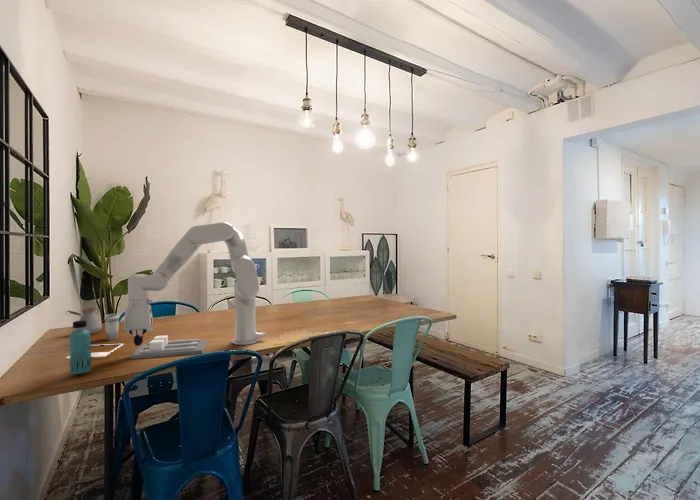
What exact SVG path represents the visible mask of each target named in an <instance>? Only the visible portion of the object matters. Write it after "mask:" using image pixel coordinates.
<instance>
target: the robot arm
mask: <svg viewBox="0 0 700 500" xmlns="http://www.w3.org/2000/svg"><path fill="white" fill-rule="evenodd" d="M220 242H224V243H225V244H226V247H227V250H228V255H229V259H230V266H231V270H232V272H233V273H234V274H235V279H236V281H235V283H234V287H233V288H234V289H233V293H234V308H235V309H234V328H235V329H234V330H235V331H234V338H232V340H231V343H232V344H234V345H237V346H238V345H239V346H245V345H253V344H255V343H257V342H259V341H260V340H259V338H265V337H266V333H265V332H257V330H256V297H257V296H258V294H259V292H260V285H259V280H258V278H259V277H258V273H257V268H256V265H255V263H254V261H253V259H251V258H250V257H249V253H248V248H247V243H246V240H245V238H244V236H243V234H242V233H241V232H240V231H239V230H238V229H237V228H236V227H234V226H233V225H232V224H231V223H230V222H227V221H220V222H215V223H208V224H201V225H200V224H199V225H194V226H191V227H190V228H189V229H188V230H187V231H186V232H185V234H184V235H183V236H182V237H181V238H180V240H179V241H177V243H176V244H175V245H174V247H173V248H172V249H171V250H170V251H169V253H168V255H167V256H166V258H165V259H164V260H163V261H162V262H161V264H159V266H158V267H157V268H156V269H155V271H154V272H153V273H152V274H146V273H145V274H144V273H134V274H130V275H129V276H128V277H127V305H126V307H125V312H124V318H123V319H124V320H123V328H124V329H123V332H124V333H127V334H130V335H131V336H132V337H133V344H134V347H137V346H138V347H140V346H141V345H142V344H144V343H143V341H144V335H145V333H147V332H151V331H153V323H154V322H153V312H152V311H153V310H152V306H151V304H150V303H153V300H152V299H150V298H149V291H152V292H160V291H163V290H165V289H166V288H167V287H168V285H169V284H168V283H169V282H170V281H171V279H172V278H173V277H174V276H175V274H176V273H177V272H178V271H179V270H180V269H182V267H184V266H185V265H186V264H187V263H188V262H189V261H190V260H191V258H192V257H193V256H194V255H195V253H196V252H197V251H198V250H199V248H201V246H202V245H207V244H214V243H220ZM138 330H139V333H138Z"/></svg>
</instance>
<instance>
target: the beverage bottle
mask: <svg viewBox="0 0 700 500" xmlns="http://www.w3.org/2000/svg"><path fill="white" fill-rule="evenodd" d="M86 326H87V323H86V321H85V320H82V321H80V320H76V321H73V322H72V328H73V331H71V332H70V333H69V334H68V335H69V336H68V337H69V356H70V359H69V371H70V374H71V375H72V374H73V375H76V374H84V373H87V372H89V371H91V369H92V358H91V353H92V352H91V351H92V346H91V345H92V340H91V334H90V331H89V330H87V329H78V330H76V328H82V327H86ZM74 329H75V330H74Z"/></svg>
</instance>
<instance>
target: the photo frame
mask: <svg viewBox="0 0 700 500" xmlns="http://www.w3.org/2000/svg"><path fill="white" fill-rule="evenodd" d="M100 345H101V344H91V347H100ZM102 345H104V346H116V347H115V348H113V349H112V350H109V351H102V352H99V351H97V352H91V357H94V358H105V357H107V356H109V355H110V354H112V353H113V352H114V350H115V351H116V350H117V348H118V349H119V348H121V347H122V346H124V343H110V344H107V343H106V344H102ZM117 345H118V346H117ZM111 352H112V353H111ZM65 359H66V360H70V355H68V356H66V357H65Z"/></svg>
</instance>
